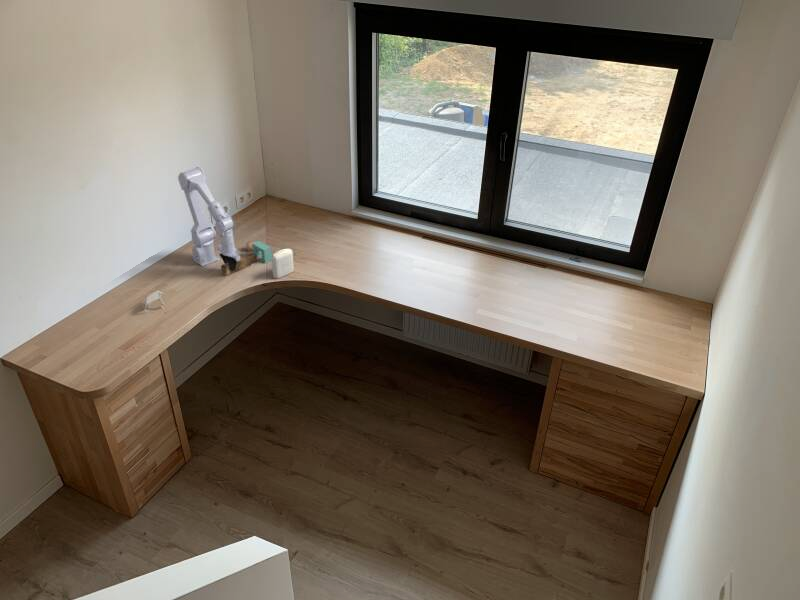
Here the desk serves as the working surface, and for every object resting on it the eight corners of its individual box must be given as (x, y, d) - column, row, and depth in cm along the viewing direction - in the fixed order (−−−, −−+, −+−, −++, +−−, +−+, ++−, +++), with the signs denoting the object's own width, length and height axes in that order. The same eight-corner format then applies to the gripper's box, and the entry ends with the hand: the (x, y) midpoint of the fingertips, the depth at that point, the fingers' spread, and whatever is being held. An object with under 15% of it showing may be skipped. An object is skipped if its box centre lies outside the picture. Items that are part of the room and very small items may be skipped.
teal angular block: (265, 263, 291) (263, 250, 287) (253, 256, 295) (252, 243, 291) (272, 260, 293) (270, 247, 289) (260, 253, 298) (258, 240, 294)
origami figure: (164, 313, 255) (162, 303, 252) (143, 314, 254) (140, 304, 251) (169, 297, 265) (167, 287, 262) (149, 298, 264) (147, 288, 261)
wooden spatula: (225, 275, 279) (224, 267, 277) (221, 273, 281) (220, 265, 279) (258, 262, 291) (257, 255, 289) (254, 260, 293) (253, 252, 290)
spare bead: (250, 253, 298) (249, 246, 296) (245, 250, 300) (244, 243, 298) (258, 250, 300) (257, 243, 298) (252, 247, 303) (251, 240, 301)
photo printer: (289, 268, 288) (288, 245, 281) (295, 271, 285) (293, 248, 278) (271, 276, 281) (269, 252, 274) (277, 279, 279) (275, 256, 272)
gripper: (244, 245, 273) (247, 271, 281) (225, 233, 281) (228, 259, 288) (231, 250, 269) (234, 277, 276) (212, 239, 276) (216, 265, 284)
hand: (230, 268), depth 282 cm, fingers closed on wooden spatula, 3 cm apart
